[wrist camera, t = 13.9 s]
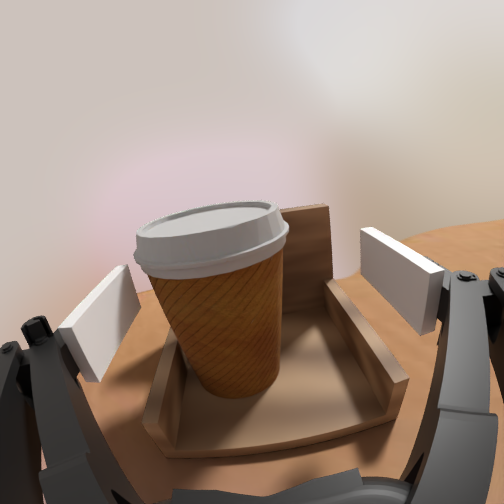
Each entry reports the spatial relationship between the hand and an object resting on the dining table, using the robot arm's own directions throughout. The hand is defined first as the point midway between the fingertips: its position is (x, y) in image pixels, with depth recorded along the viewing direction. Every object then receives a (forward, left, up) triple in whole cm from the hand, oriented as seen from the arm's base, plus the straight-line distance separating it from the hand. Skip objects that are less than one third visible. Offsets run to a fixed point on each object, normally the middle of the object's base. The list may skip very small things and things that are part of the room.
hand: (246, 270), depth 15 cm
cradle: (-3, -1, -10) cm, 11 cm away
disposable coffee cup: (-2, -3, -9) cm, 10 cm away
